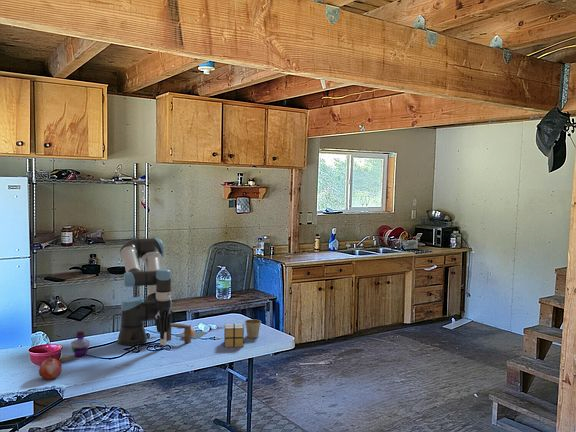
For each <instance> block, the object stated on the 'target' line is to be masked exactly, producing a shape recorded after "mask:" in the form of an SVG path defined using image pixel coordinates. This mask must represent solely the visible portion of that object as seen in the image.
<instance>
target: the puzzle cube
mask: <svg viewBox="0 0 576 432" xmlns="http://www.w3.org/2000/svg"><path fill="white" fill-rule="evenodd" d="M244 328H245V327H244V323H225V324H224V335H223V336H224V339H223V340H224V343H223V344H224V347H225V348H244V345H245V344H244V339H245V337H244V336H245V335H244V334H245V333H244V331H245V330H244Z"/></svg>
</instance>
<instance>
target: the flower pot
mask: <svg viewBox="0 0 576 432" xmlns="http://www.w3.org/2000/svg"><path fill="white" fill-rule="evenodd" d="M261 323H262V320H260V319H255V318H253V319H250V318H249V319H246V320H244V324H245V327H246V336H247V338H250V339H254V338H256V339H257V338H258V337H259V333H260V328H261V327H260V326H261Z"/></svg>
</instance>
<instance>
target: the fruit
mask: <svg viewBox="0 0 576 432" xmlns="http://www.w3.org/2000/svg"><path fill="white" fill-rule="evenodd" d="M62 366H63V365H62V363H61V361H60V360H58V359H57V358H52V357H51V356H50V355H48V358H47V359H45V360H43V361H42V362H40V364H39V369H38V374H39V376H40V377H41V378H43V379H44V380H47V381H48V380H52V379H55V378H58V377H59V376H60V375H61V373H62V371H63V370H62V369H63V367H62Z"/></svg>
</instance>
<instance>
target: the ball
mask: <svg viewBox="0 0 576 432" xmlns="http://www.w3.org/2000/svg"><path fill="white" fill-rule="evenodd" d="M194 331H195V330H194V329H193V327H191V336H193V334H194ZM183 332H184V335H185V329H184V330H183Z"/></svg>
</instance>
